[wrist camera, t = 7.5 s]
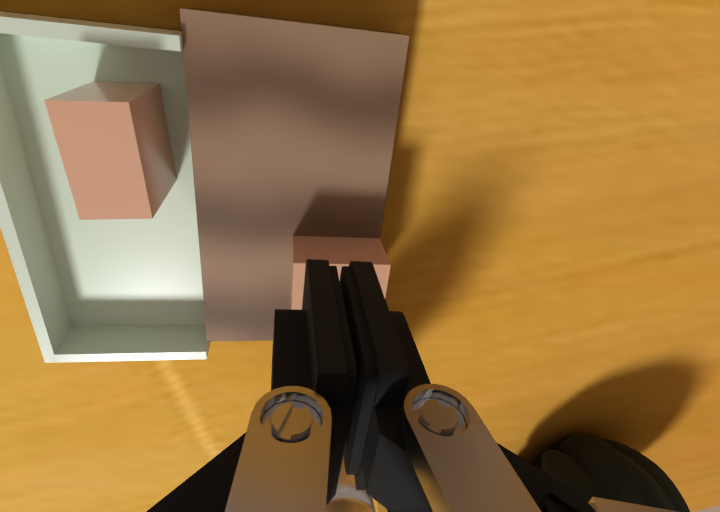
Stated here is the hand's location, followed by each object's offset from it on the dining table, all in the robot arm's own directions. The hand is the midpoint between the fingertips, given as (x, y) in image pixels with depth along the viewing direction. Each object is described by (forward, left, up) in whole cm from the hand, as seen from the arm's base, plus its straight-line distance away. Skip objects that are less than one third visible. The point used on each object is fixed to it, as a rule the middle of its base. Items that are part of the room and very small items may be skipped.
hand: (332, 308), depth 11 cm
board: (+3, -1, -15) cm, 15 cm away
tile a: (0, -7, -12) cm, 14 cm away
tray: (+4, -10, -15) cm, 19 cm away
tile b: (+7, +2, -13) cm, 14 cm away
